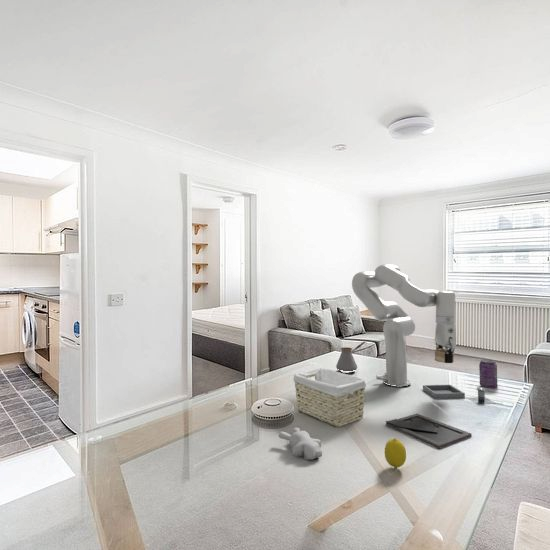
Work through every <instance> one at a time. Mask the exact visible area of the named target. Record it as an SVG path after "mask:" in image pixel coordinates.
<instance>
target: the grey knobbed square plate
mask: <svg viewBox="0 0 550 550" xmlns="http://www.w3.org/2000/svg"><path fill="white" fill-rule="evenodd" d="M476 390H477V397H467V400H470V401H471V402H473V403H475V404H476V405H497V404H498V403H497V402H495V401H494V400H492V399H490V398H488V397H486V396H485V395H486V393H485V391H486V387H483V386H479V387H476Z"/></svg>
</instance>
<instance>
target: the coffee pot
mask: <svg viewBox="0 0 550 550" xmlns="http://www.w3.org/2000/svg"><path fill="white" fill-rule="evenodd" d="M365 343H366V344H365ZM367 344H368V343H367V342H366V341H363V342H361V343H360V344H359V345H357V346H356V347H355V348H354V349H353V348H352V347H345V346H344V347H340V351H341V352H340V354H339V355H340V356H339V359H338V361H337V362H336V365H335V367H336V369H337V370H338V369H339V370H343V371H353V370H356V371H357V369H358V364H357V363H356V360H355V358H354V356H353V353H354V352H355V351H356V350H358V349H359V348H361V347H362V346H363V345H367ZM339 370H338V371H339Z"/></svg>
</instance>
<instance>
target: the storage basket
mask: <svg viewBox="0 0 550 550" xmlns="http://www.w3.org/2000/svg"><path fill="white" fill-rule="evenodd" d="M313 377H314V379H312V378H313ZM293 382H294V388H295V395H296V406H297V410H298V411H299V412H301V413H304V414H306V415H308V416H311V417H314V419H318V420H319V421H321V422H324V423H328V424H330V425H332V426H333V427H337V428H338V427H339V428H341V427H343V426H345V425H346V426H347V424H350V423H354V422H356V421H359V420H361V419H363V417H364V407H365V404H364V402H365V388H366V387H367V383H366V381H365V379H363V378H360V377H358V376H355V375H354V376H353V375H350V374H346V373H341V372H340V371H336V370H332V369H328V368H322V367H319V368H314V369H310V370H305V371H301V372H297V373H294V375H293Z"/></svg>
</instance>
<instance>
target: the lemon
mask: <svg viewBox="0 0 550 550" xmlns="http://www.w3.org/2000/svg"><path fill="white" fill-rule="evenodd" d="M384 458H385V460H386V463H388V465H390V466H391V467H393V468H394V469H397V468H400V467H402V466H403V465H404V464H405V462H406V459H407V451H406V447H405V445H404V443H403V442H402V441H400V440H399V439H397V438H395V437H394V438H392V439H389V440H388V441H387V442H386V443H385V445H384Z"/></svg>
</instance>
